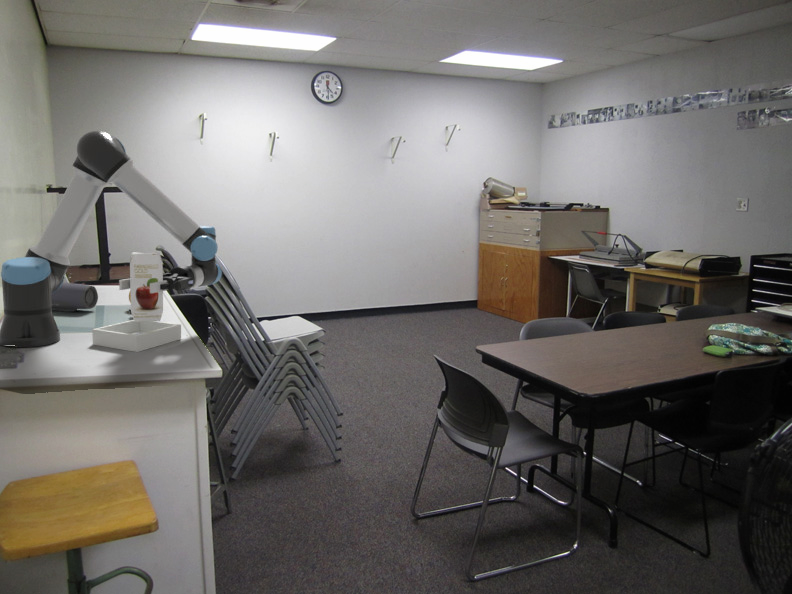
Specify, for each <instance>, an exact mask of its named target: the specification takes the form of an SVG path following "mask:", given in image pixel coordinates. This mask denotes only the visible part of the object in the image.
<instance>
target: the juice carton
mask: <svg viewBox="0 0 792 594" xmlns="http://www.w3.org/2000/svg"><path fill="white" fill-rule="evenodd" d="M163 264H164V263H163V259H162V256H161V254H160V252H159V251H158V252H147V253H146V252H136V251H135V252H134V251H133V252H132V253H131V256H130V259H129V279H130V289H129V292H130V294H131V303H130V311H131V316H132V320H134V321H135V322H141V321H160V322H161V319H162V316H163V313H164V291H161V292H156V293H150V283H155V282H160V281H163V274H164V271H163V270H164V269H163V267H164V266H163Z"/></svg>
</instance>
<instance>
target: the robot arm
mask: <svg viewBox="0 0 792 594" xmlns="http://www.w3.org/2000/svg"><path fill="white" fill-rule="evenodd" d="M76 155H77V156H76V157H75V160H74V162H73V164H72V170H73V171H74V172H73V173H74V174H73V176H72V178H71V180H70V182H69V184H68V186H67V188H66V190H65V192H64V194H63V195H62V197H61V200H60V201H59V203H58V205H57V207H56V209H55V211H54V212H53V214H52V216H51V219H50V220H49V222H48V224H47V226H46V228H45V230H44V232H43V234H42V235H41V237H40V239H39V242H38V243H37V244H35V245H30V246H29V248H28V250H27V252H26V254H25V255H24V257H23V256H22V257H16V258H11V259H8V260H6V261H4V262H3V263H2V265H1V272H0V277H1V284H2V285H1V286H2V299H3V300H2V301H3V318H2V322H1V325H0V346H2V347H5V346H4V345H15V346H17V347H16V348H33V347H41V346H47V345H51V344H54V343H57V342H59V341H60V340H61V332H60V329H59V328H58V325H57V322H56V320H55V318H54V315H53V310H52V301H51V294H52V293H54V292H55V291H57V289H59V288H60V286H61V285H62V283H63V282H64V279H65V274H66V272H67V271H68V269H69V267H70V265H71V262H70V259H69V255H70V253H71V251H72V249H73V247H74V246H75V244H76V242H77V240H78V238H79V236H80V234H81V232H82V230H83V228H84V226H85V224H86V222H87V220H88V218H89V217H90V214H91V213H92V211H93V209H94V207H95V205H96V203H97V201H98V199H99V198H100V195H101V194H102V192H103V189H104V188H106V187H110V186H112V184H113V185H114V186H116V187H117V188H118V189H119V190H120V191H121V192H122V193H123V194H125V195H126V197H128V198H129V199H130V200H132V201H133V203H135V204H136V205H137V206H138V207H139V208H141V209H142V210H143V211H144V212H145V213H146V214H147V215H148V216H149V217H150V218H152V219H153V220H154V221H155V222H156V223H157V224H158V225H159V226H160V227H162V228H163V229H164V230H166V232H167V233H169V234H170V235H171V236H172V237H173V238H174V239H175V240H177V241H178V242H179V243H180V244H181V245H183V247H184V248H185V249H187V251H189V252H190V254H191V264H186V265H179V266H174V267H172V268H171V269H170V270H169V272H165V273H163V281H160V282H155V283H150V293H156V292H161V291H163V292H165V291H173V290H174V291H177V292H183V291H188V290H189V291H193V289H196V288H200V287H205V286H206V287H207V286H212V285H214V284H215V283H218V282H219V281H220V280H221V278H222V275H223V274H222V273H223V272H222V269H221V266H220V265H219V264H218V263H217V262H216V261H217V259H216V254H217V252H218V243H217V241H216V238H217V235H216V228H215V226H208V225H198V224H197V223H196V222H195V221H194V220H193V219H192V218H191V217H190V216H189V215H188V214H186V213H185V212H184V211H183V210H182V209H181V208H180V207H179V206H178V205H177V204H175V202H173V201H172V200H171V199H170V198H169V197H168V196H167V195H166V194H164V192H163V191H161V189H159V188H158V187H157V186H156V185H155V184H154V183H153V182H152V181H151V180H149V178H148V177H146V176H145V175H144V174H143V173H142V172H141V171H140V170H139V169H137V168H136V167H135V166H134V165H133V159H132V158H131V157H129V155H128V154H127V152H126V148H125V146H124V144H123V143H122V142H121V141H120V140H119V139H118V138H117V137H115V136H113V135H112V134H109V133H107V132H105V131H101V130H100V131H99V130H91V131H89V132H87V133H85V134H83V135H82V136H81V137H80V139H78V142H77V145H76ZM118 283H119V289H118V290H120V291H123V290H130V278H125V279H119V280H118Z"/></svg>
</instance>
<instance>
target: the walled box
mask: <svg viewBox="0 0 792 594" xmlns="http://www.w3.org/2000/svg"><path fill="white" fill-rule="evenodd" d="M91 330H92V333H91V334H92V345H94V346H98V347H106V348H112V349H118V350H122V351H129V352H134V353H135V352H136V353H139V352H142V351H145V350H148V349H153V348H155V347H158V346H162V345H166V344H169V343H172V342H175V341H178V340H182V324H179V323H173V322H167V321H165V322H164V321H161V320H160V321H141V322H135V321H134V319H131V320H126V321H123V322H119V323H113V324H110V325H105V326H100V327H97V328H92V329H91Z"/></svg>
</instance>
